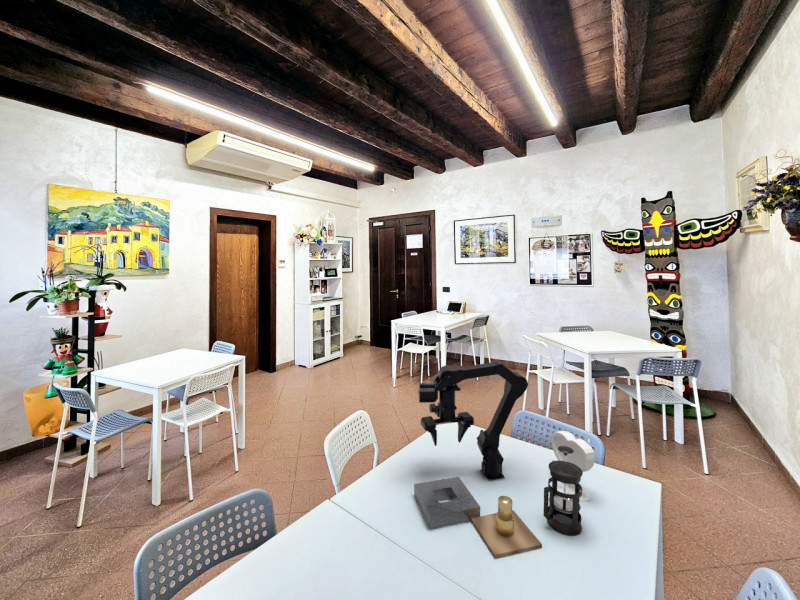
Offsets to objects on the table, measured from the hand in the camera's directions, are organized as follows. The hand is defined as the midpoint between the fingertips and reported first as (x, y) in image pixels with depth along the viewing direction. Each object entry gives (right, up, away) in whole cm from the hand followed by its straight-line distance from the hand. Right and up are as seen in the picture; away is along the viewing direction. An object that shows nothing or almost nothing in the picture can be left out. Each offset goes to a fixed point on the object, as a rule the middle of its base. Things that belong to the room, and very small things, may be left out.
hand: (447, 443), depth 125 cm
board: (+12, -14, -28) cm, 33 cm away
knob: (+12, -13, -28) cm, 33 cm away
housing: (-3, -13, -16) cm, 21 cm away
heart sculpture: (+41, -12, -7) cm, 44 cm away
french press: (+30, -14, -24) cm, 41 cm away
